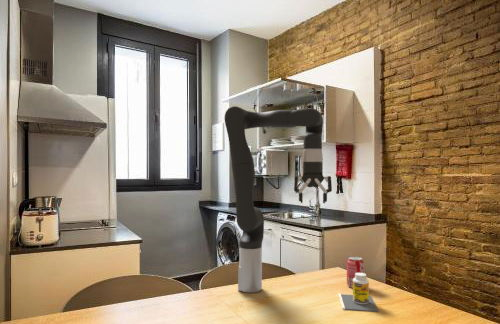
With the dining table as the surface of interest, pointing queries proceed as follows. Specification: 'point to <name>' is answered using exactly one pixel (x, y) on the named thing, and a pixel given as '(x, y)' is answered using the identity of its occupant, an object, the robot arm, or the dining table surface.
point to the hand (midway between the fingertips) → (312, 203)
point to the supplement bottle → (360, 289)
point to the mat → (349, 304)
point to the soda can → (354, 268)
